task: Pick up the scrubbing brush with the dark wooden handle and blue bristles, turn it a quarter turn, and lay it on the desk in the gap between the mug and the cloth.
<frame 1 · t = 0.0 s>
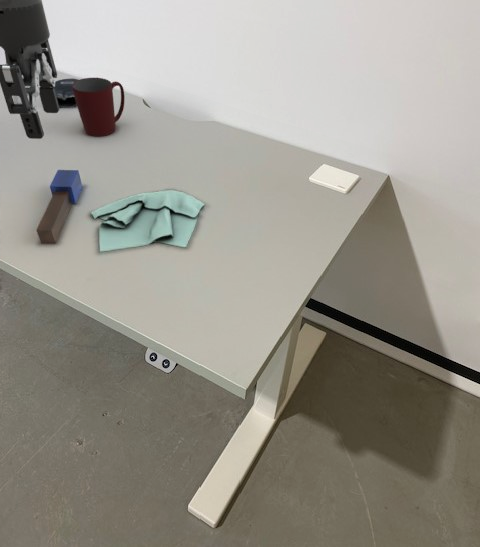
hand: (44, 124, 63), 20 cm above the table, tool pointing down, fingers open, 8 cm apart
cloth: (145, 221, 80), on the table
brush: (61, 213, 80), on the table
electronic device: (67, 97, 118), on the table
mug: (106, 129, 106), on the table
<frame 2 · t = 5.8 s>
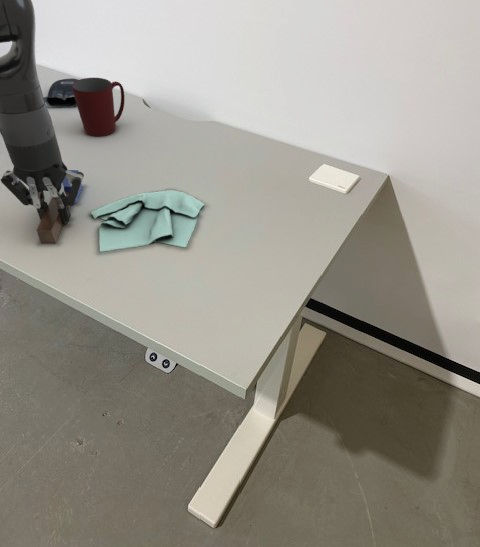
hand: (56, 221, 77), 0 cm above the table, tool pointing down, fingers closed on brush, 2 cm apart
brush: (61, 213, 80), on the table, touching gripper
everything else where it was.
when the fingers open (0 cm above the table, at t = 14.6 s): brush stays where it is, on the table.
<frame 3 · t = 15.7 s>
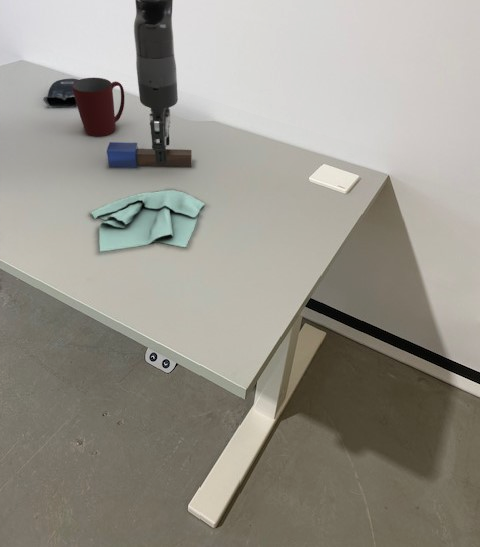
hand: (163, 153, 93), 3 cm above the table, tool pointing down, fingers open, 8 cm apart
brush: (151, 163, 94), on the table
everything else where it was.
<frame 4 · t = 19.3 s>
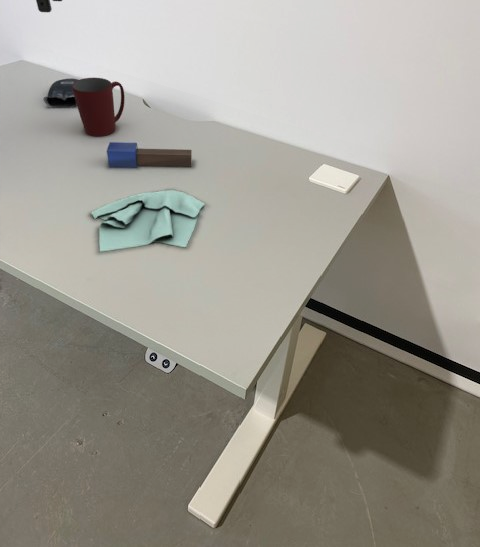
hand: (51, 6, 80), 28 cm above the table, tool pointing down, fingers open, 8 cm apart
nothing on the table moved.
at the end: brush inside the target area (0.1 cm from its centre), on the table; the gripper is holding nothing; mug moved 0.2 cm from its start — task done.
